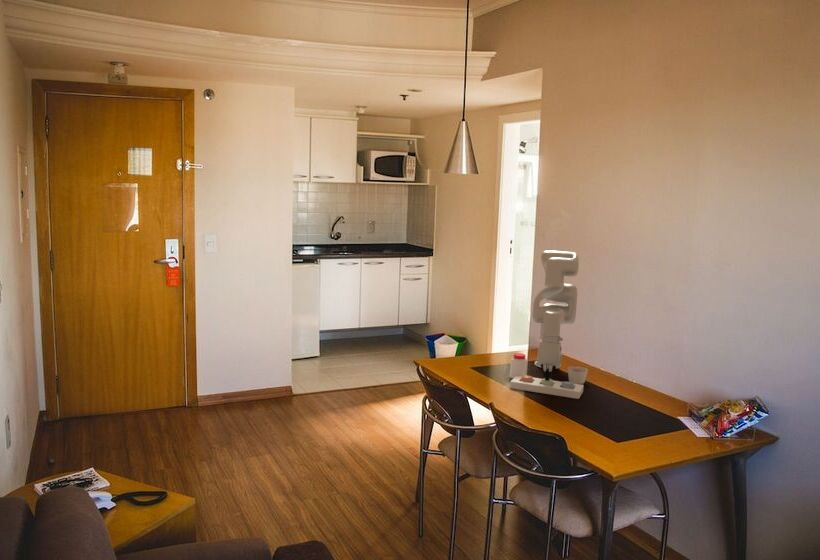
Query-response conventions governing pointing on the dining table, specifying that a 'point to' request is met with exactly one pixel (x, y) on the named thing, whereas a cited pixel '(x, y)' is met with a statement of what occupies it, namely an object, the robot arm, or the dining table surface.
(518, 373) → the pill bottle
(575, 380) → the candle
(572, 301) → the robot arm
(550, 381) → the button sage
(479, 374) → the dining table surface
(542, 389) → the console
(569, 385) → the button slate
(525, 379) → the button terracotta
